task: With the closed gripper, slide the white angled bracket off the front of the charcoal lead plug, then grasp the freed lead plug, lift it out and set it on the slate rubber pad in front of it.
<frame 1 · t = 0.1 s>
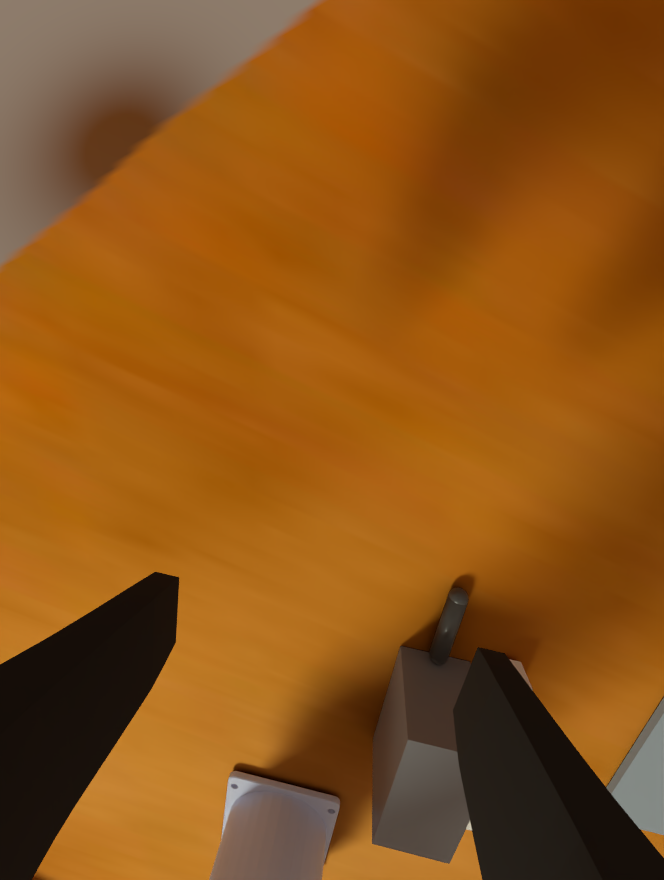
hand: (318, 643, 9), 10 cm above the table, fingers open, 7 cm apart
lead plug: (418, 702, 22), on the table
white angled bracket: (539, 761, 21), point 1 cm above the table, slide at 0.0 cm
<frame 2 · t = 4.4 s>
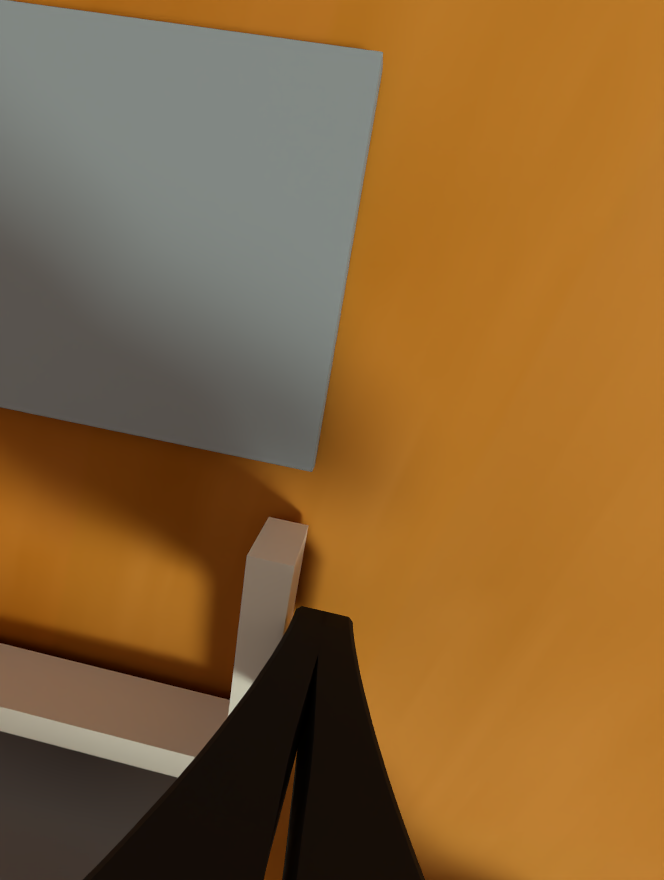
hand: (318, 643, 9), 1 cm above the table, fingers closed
lead plug: (108, 756, 13), on the table
slate pad: (91, 253, 8), on the table
white angled bracket: (61, 614, 10), point 1 cm above the table, slide at 1.4 cm, touching gripper
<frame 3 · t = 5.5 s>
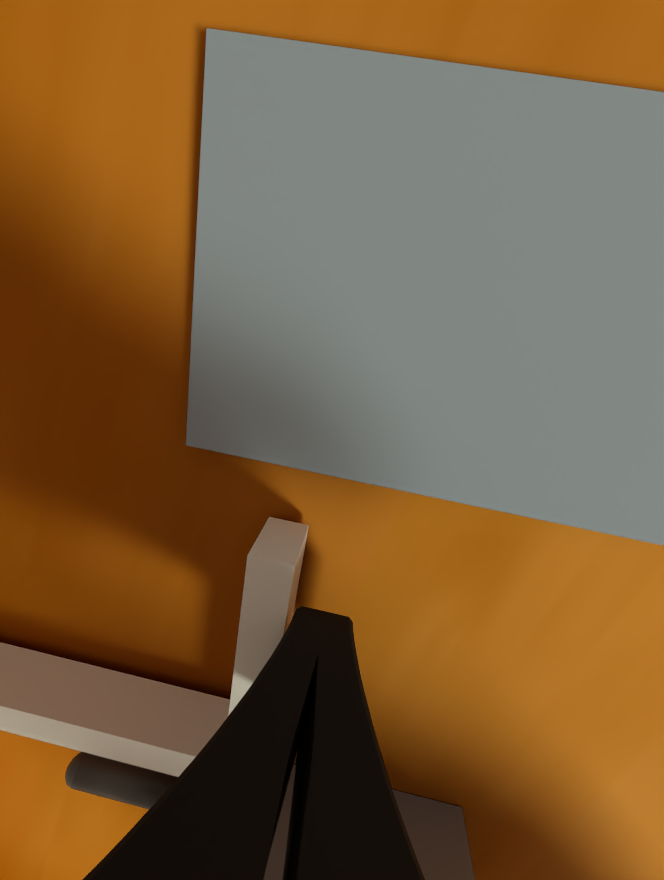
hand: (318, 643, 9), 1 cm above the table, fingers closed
lead plug: (328, 813, 12), on the table
slate pad: (465, 320, 7), on the table
white angled bracket: (62, 614, 10), point 1 cm above the table, slide at 9.4 cm, touching gripper
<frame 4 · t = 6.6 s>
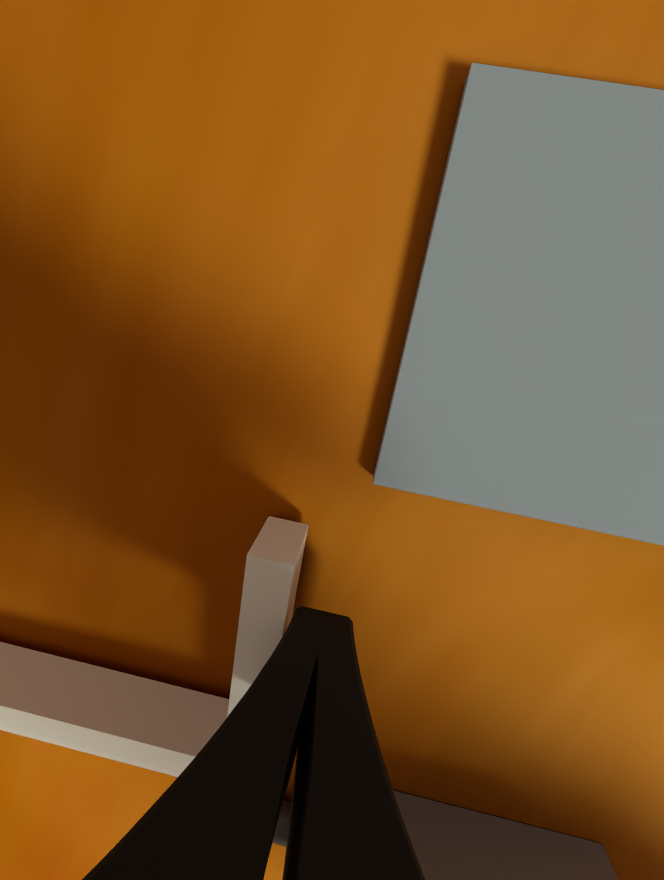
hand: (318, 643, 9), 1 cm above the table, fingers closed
lead plug: (456, 847, 12), on the table
white angled bracket: (60, 613, 10), point 1 cm above the table, slide at 13.8 cm, touching gripper
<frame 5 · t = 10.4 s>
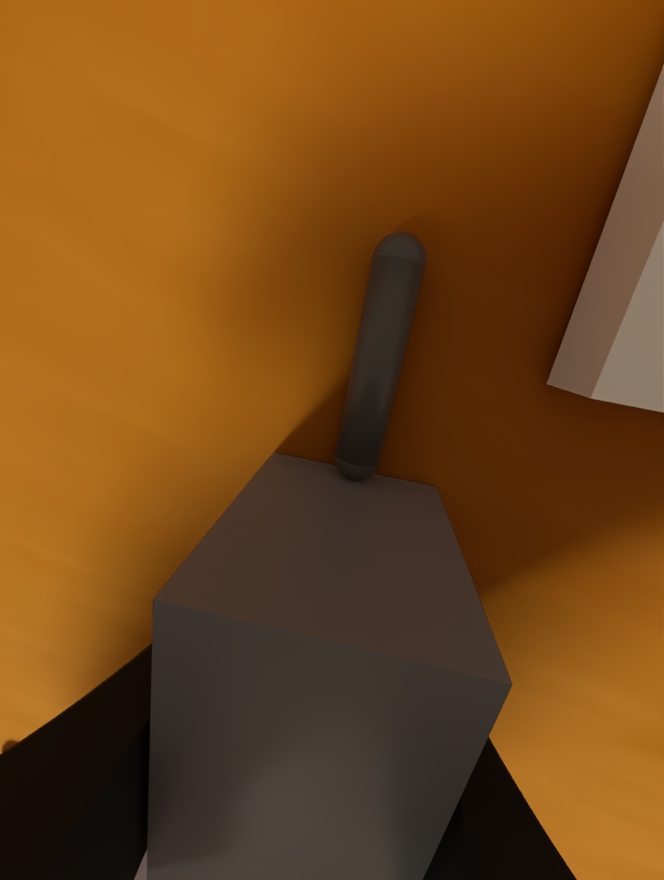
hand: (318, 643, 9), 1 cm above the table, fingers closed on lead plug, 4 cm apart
lead plug: (325, 601, 10), on the table, touching gripper
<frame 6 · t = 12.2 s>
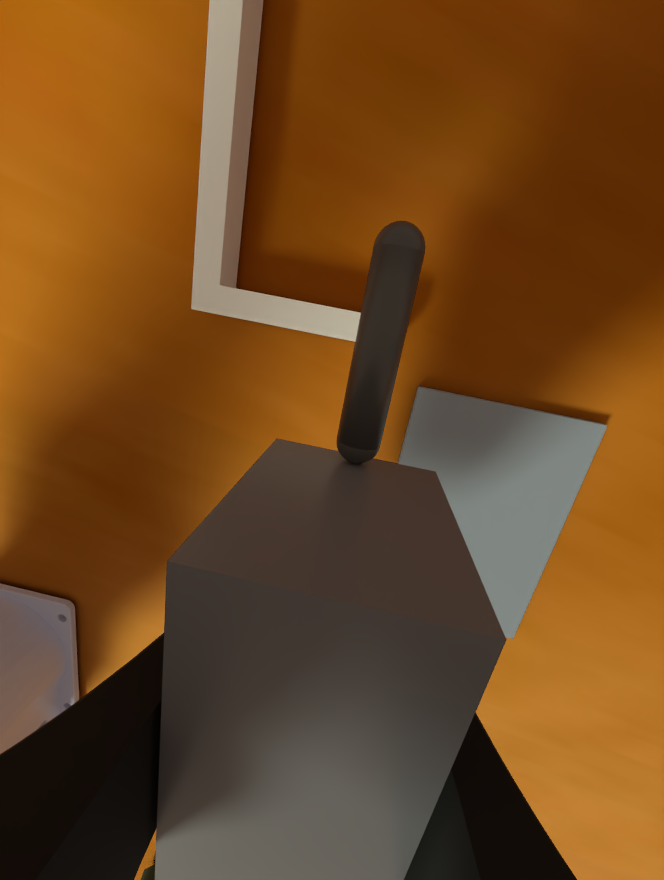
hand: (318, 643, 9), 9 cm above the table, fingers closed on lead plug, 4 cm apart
lead plug: (327, 585, 10), point 7 cm above the table, touching gripper
character mug: (189, 869, 28), on the table
slate pad: (468, 520, 16), on the table
white angled bracket: (322, 143, 12), point 1 cm above the table, slide at 13.8 cm
when the fingers open (3 cm above the table, at t = 14.1 s): lead plug stays where it is, resting on slate pad.
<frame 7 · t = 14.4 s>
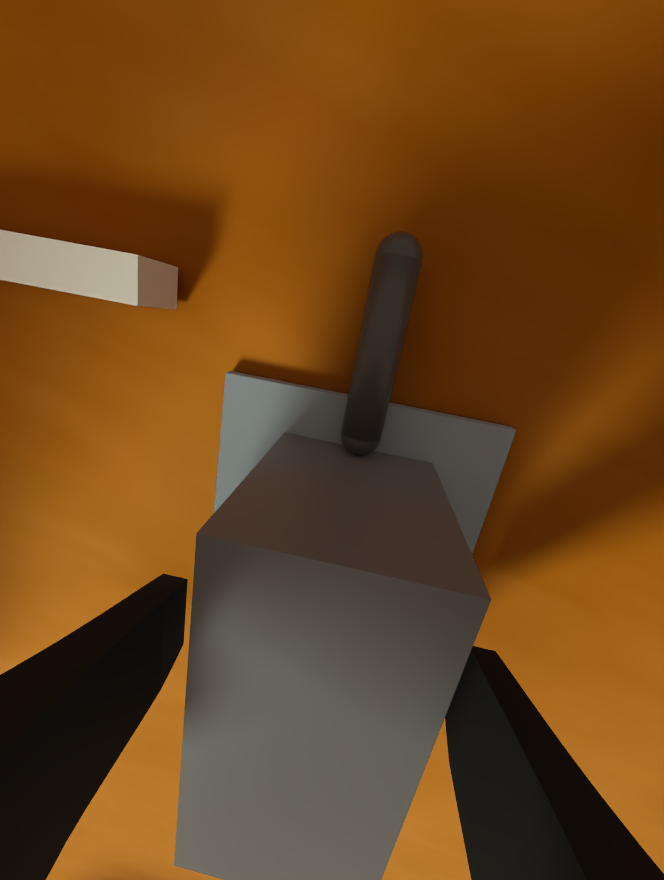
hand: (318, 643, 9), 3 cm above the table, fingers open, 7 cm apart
lead plug: (331, 571, 11), resting on slate pad
slate pad: (331, 569, 11), on the table
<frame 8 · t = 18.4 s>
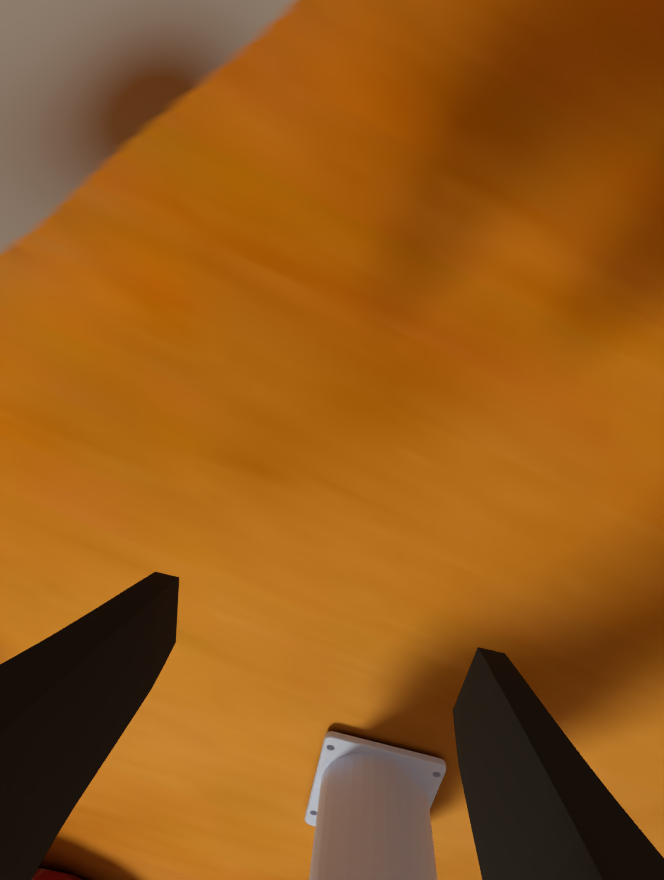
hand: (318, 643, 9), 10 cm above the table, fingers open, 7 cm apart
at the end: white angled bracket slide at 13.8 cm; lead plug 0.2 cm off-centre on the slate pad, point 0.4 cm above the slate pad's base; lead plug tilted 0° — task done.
